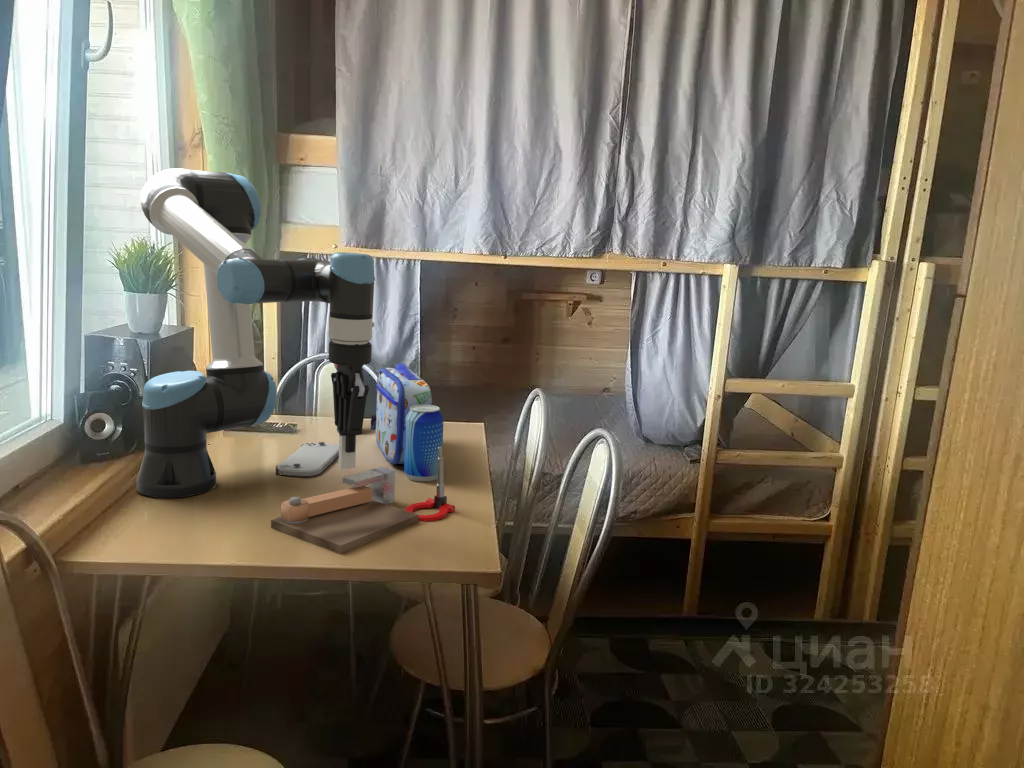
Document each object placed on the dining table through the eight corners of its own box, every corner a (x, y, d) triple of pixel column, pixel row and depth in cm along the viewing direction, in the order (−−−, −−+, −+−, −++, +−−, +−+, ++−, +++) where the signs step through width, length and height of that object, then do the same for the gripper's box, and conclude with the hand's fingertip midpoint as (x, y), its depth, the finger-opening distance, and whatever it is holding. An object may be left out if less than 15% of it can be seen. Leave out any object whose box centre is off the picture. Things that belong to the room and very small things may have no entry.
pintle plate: (271, 527, 144) (271, 517, 143) (351, 500, 160) (351, 491, 160) (340, 553, 134) (340, 543, 134) (418, 522, 150) (418, 512, 150)
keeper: (355, 513, 153) (356, 481, 152) (342, 508, 155) (343, 476, 154) (394, 502, 161) (395, 471, 159) (381, 497, 163) (381, 466, 162)
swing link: (290, 523, 141) (290, 504, 140) (276, 516, 144) (276, 497, 143) (374, 502, 154) (375, 485, 153) (360, 495, 157) (360, 479, 157)
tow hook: (427, 527, 149) (459, 512, 157) (427, 462, 147) (459, 450, 154) (395, 516, 154) (427, 502, 162) (394, 453, 151) (427, 442, 159)
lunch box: (367, 441, 204) (368, 358, 200) (406, 439, 208) (408, 357, 204) (391, 473, 179) (393, 378, 175) (435, 470, 183) (438, 377, 179)
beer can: (425, 469, 184) (427, 402, 181) (449, 478, 178) (451, 409, 175) (396, 475, 178) (398, 406, 175) (419, 485, 172) (421, 413, 169)
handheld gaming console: (316, 468, 172) (271, 465, 173) (316, 480, 173) (272, 477, 173) (345, 441, 195) (305, 438, 195) (344, 452, 196) (305, 449, 196)
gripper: (384, 346, 137) (379, 476, 142) (357, 334, 148) (353, 455, 152) (342, 347, 133) (339, 480, 138) (318, 335, 144) (315, 459, 149)
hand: (346, 467), depth 145 cm, fingers closed
